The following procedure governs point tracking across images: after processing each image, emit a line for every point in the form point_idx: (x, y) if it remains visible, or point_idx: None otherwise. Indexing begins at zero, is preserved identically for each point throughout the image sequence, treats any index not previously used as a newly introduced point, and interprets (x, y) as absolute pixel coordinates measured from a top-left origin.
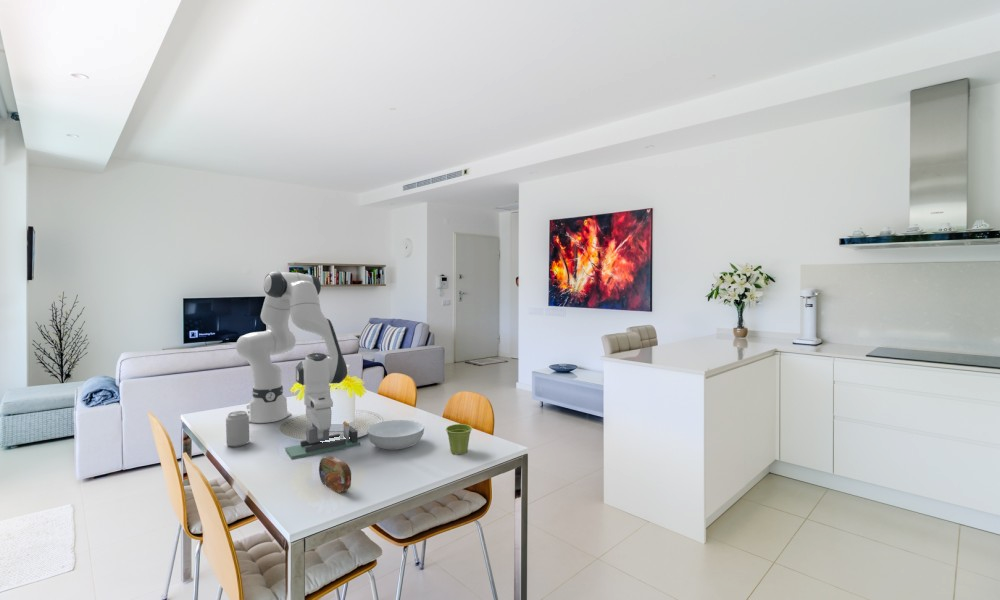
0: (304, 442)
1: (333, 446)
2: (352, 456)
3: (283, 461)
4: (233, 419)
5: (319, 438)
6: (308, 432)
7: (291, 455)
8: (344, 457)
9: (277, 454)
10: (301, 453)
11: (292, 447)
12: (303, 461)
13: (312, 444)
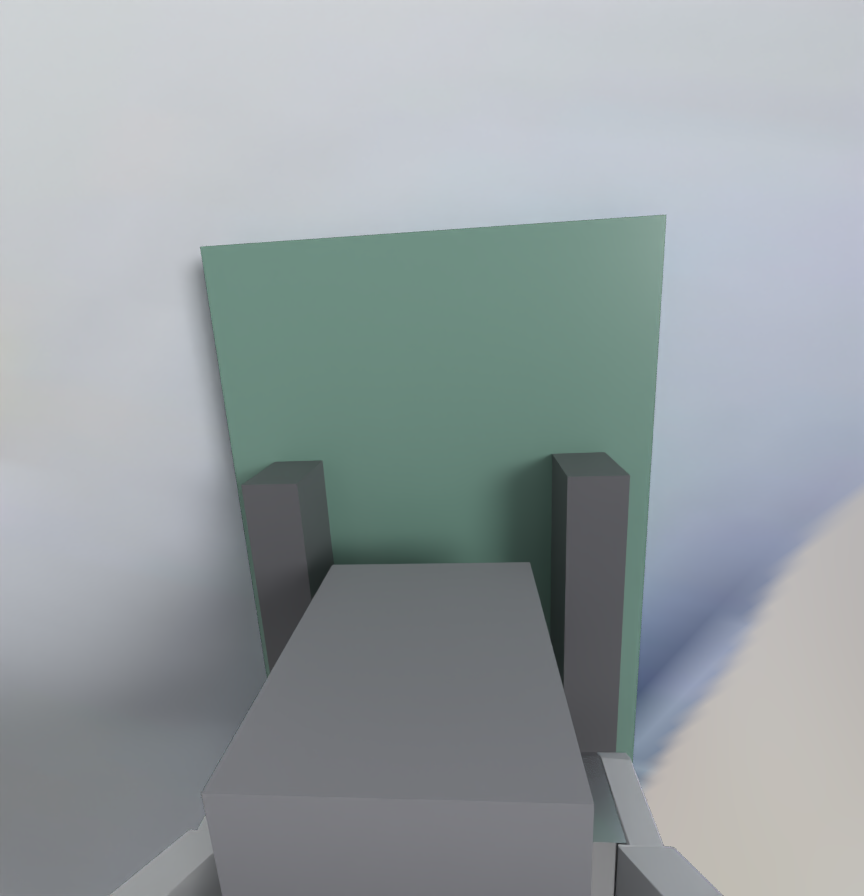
0: (560, 520)
1: None
2: (45, 820)
3: (193, 135)
4: None
5: None
6: (312, 708)
7: (245, 256)
8: (46, 761)
9: (542, 82)
10: (259, 401)
11: (604, 329)
12: (89, 382)
13: (549, 603)
